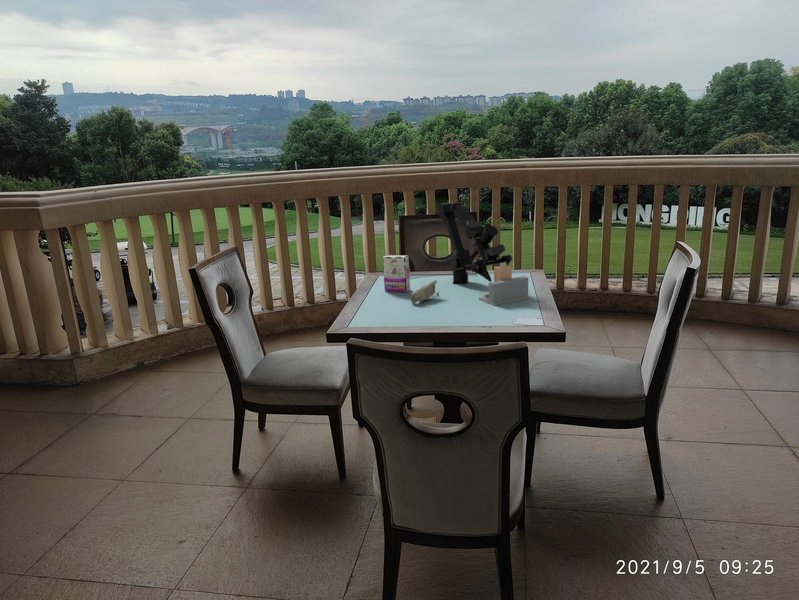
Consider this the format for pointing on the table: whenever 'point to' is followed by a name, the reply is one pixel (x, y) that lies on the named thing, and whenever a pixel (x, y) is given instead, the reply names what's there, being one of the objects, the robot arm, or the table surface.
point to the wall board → (506, 291)
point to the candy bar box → (396, 273)
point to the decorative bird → (424, 292)
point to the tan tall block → (502, 272)
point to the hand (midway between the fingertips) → (499, 279)
